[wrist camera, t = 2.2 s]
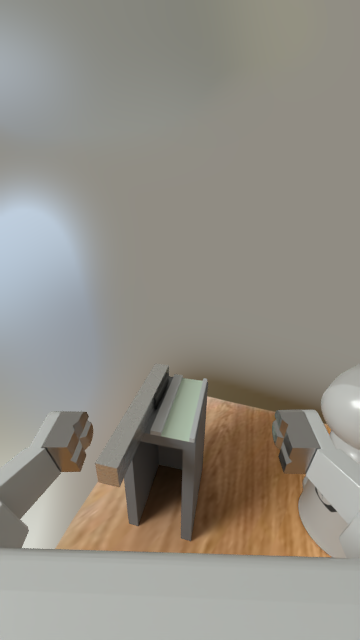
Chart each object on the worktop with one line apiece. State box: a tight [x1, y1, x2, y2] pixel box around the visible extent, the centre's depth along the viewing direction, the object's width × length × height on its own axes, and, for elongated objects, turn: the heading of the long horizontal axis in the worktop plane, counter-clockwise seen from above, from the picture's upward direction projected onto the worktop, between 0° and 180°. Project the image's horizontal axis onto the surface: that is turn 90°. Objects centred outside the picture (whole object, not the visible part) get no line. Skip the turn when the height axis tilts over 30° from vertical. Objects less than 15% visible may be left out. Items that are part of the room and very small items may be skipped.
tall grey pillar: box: [124, 374, 208, 541], centre depth 51 cm, size 16×13×27 cm
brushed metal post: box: [95, 364, 169, 487], centre depth 42 cm, size 24×4×4 cm, turn 167°
